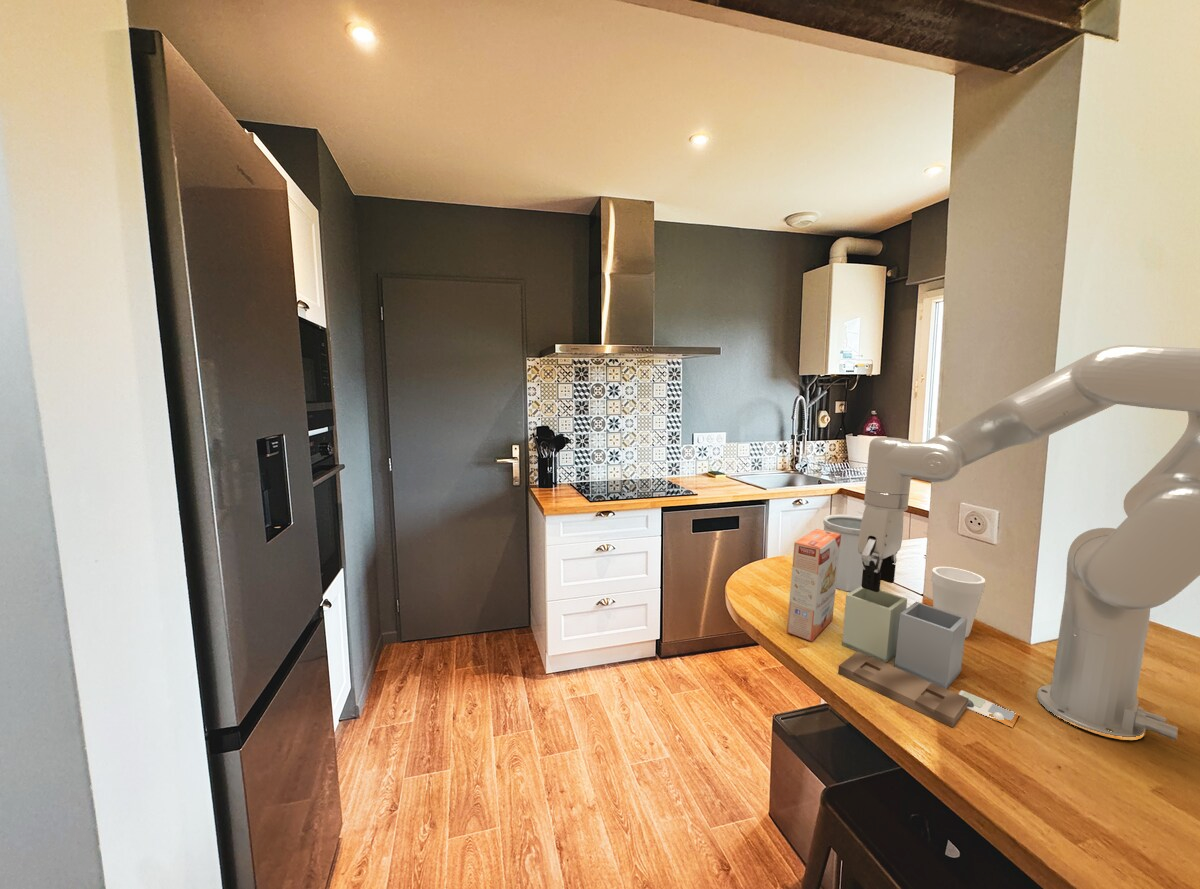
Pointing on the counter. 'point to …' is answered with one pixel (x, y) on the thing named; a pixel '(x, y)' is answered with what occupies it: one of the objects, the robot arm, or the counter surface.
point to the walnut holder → (905, 688)
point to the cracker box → (813, 583)
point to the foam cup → (957, 592)
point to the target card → (986, 707)
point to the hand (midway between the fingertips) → (877, 584)
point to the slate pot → (930, 643)
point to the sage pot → (872, 622)
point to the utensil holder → (847, 550)
